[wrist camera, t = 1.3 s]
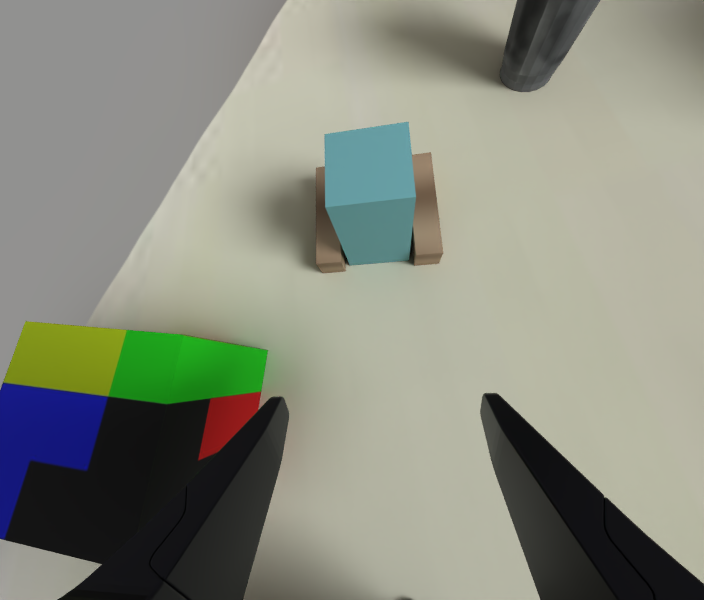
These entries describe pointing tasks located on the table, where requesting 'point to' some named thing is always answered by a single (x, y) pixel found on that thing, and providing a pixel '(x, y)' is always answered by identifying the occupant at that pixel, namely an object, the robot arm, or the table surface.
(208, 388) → the puzzle toy
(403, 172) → the block
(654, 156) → the table surface
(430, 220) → the chute
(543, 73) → the beverage cup
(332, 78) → the table surface
